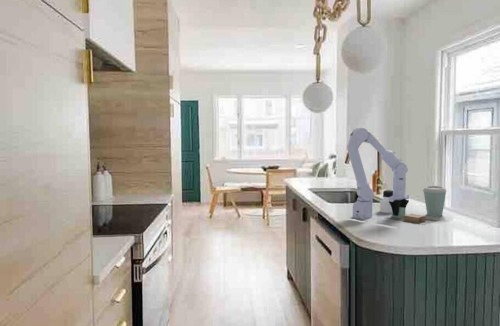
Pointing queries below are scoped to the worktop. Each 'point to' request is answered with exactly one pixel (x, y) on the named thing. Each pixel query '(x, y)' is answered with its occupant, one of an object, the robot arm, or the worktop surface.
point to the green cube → (400, 212)
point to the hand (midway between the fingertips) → (398, 214)
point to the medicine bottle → (386, 202)
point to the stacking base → (413, 219)
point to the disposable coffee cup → (434, 199)
